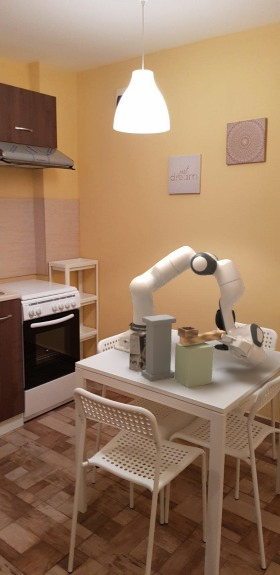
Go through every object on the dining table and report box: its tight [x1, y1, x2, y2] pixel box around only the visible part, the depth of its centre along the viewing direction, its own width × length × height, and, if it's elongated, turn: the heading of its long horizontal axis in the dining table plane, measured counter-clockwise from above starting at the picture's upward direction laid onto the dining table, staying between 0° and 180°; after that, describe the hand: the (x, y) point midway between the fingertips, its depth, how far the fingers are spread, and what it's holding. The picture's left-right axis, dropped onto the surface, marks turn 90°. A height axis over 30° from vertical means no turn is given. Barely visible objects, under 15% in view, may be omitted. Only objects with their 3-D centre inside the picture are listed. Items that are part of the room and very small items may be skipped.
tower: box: [140, 314, 177, 382], centre depth 191 cm, size 12×8×26 cm, turn 119°
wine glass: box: [213, 308, 236, 351], centre depth 234 cm, size 10×10×20 cm
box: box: [174, 342, 214, 389], centre depth 187 cm, size 12×10×16 cm
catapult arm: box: [177, 325, 226, 345], centre depth 187 cm, size 22×6×6 cm, turn 119°
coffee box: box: [128, 330, 146, 372], centre depth 203 cm, size 9×6×16 cm
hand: (217, 334), depth 191 cm, fingers closed on catapult arm, 3 cm apart
